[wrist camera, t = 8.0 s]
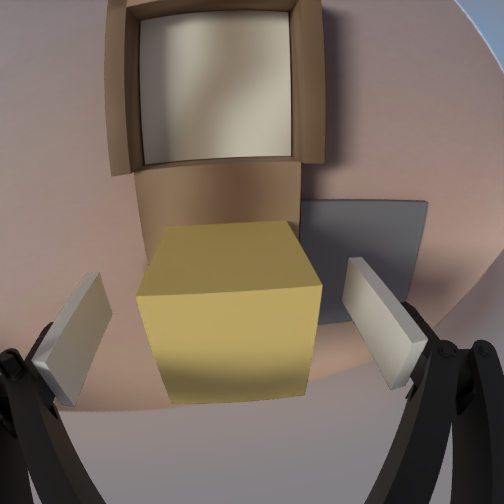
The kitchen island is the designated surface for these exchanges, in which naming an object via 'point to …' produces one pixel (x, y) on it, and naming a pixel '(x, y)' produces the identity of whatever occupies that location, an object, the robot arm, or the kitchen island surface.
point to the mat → (360, 244)
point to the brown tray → (214, 108)
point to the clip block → (231, 312)
